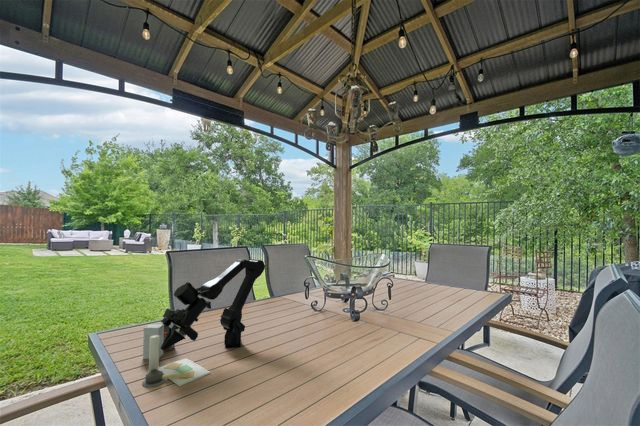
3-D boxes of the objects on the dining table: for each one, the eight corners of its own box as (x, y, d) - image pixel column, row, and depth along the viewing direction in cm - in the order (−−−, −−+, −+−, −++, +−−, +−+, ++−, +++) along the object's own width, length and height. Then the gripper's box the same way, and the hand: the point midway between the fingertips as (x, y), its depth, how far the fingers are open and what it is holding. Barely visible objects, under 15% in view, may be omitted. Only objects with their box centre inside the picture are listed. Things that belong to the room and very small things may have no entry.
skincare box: (163, 354, 119) (164, 324, 120) (158, 359, 115) (159, 327, 115) (148, 354, 119) (149, 324, 120) (142, 359, 115) (143, 327, 115)
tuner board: (186, 359, 115) (186, 357, 115) (210, 373, 104) (210, 371, 104) (133, 377, 101) (133, 375, 101) (154, 396, 90) (155, 394, 90)
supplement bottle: (157, 352, 121) (158, 324, 121) (160, 346, 126) (161, 320, 127) (173, 351, 122) (174, 323, 123) (175, 345, 128) (176, 319, 129)
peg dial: (169, 363, 110) (171, 330, 110) (190, 377, 100) (192, 341, 101) (136, 375, 101) (138, 339, 102) (156, 391, 92) (157, 351, 92)
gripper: (167, 295, 117) (134, 331, 108) (191, 304, 105) (157, 344, 96) (185, 311, 123) (156, 347, 114) (210, 321, 111) (180, 361, 102)
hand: (161, 349), depth 106 cm, fingers closed
